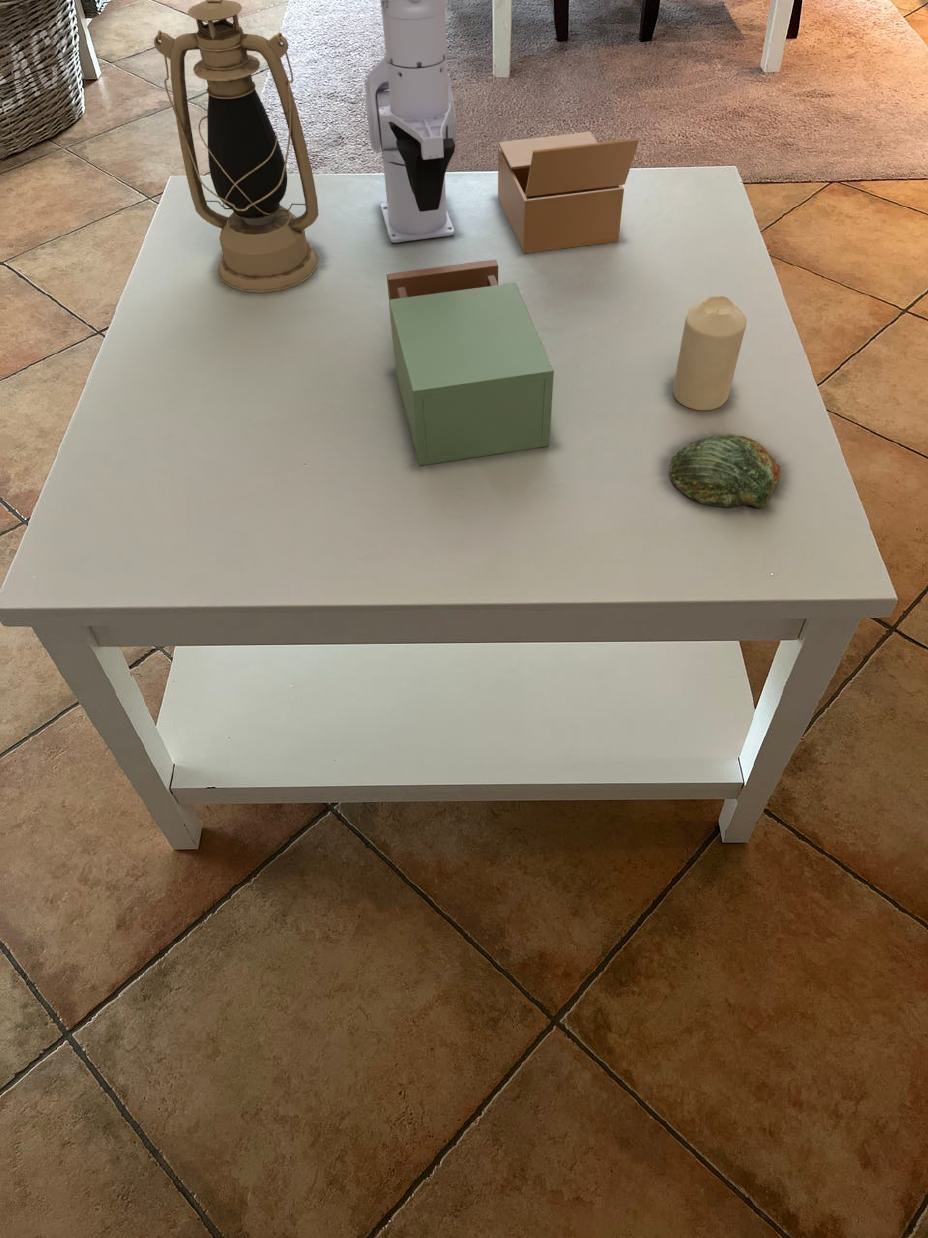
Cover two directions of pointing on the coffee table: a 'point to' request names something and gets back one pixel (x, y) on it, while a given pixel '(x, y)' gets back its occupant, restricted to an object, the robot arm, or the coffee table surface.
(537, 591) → the coffee table surface
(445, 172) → the robot arm
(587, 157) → the flap
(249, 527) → the coffee table surface
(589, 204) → the carton
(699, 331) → the candle
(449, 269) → the drawer
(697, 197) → the coffee table surface
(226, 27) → the lantern
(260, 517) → the coffee table surface
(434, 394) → the cabinet
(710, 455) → the seashell
